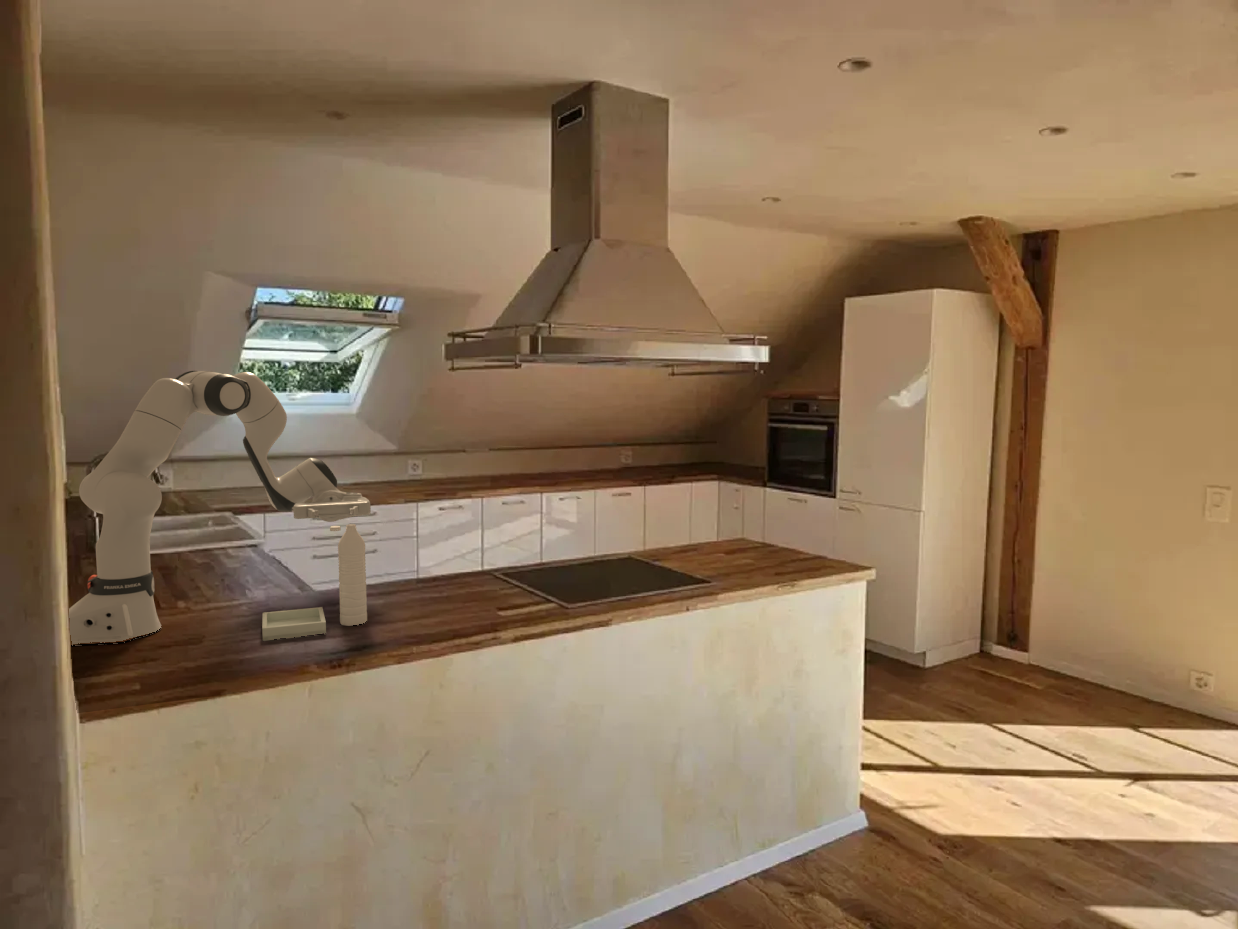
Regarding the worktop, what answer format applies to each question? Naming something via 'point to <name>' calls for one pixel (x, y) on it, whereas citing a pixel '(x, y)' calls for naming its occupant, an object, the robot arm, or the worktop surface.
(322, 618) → the sage tray
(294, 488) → the robot arm
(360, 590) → the water bottle
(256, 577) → the worktop surface
